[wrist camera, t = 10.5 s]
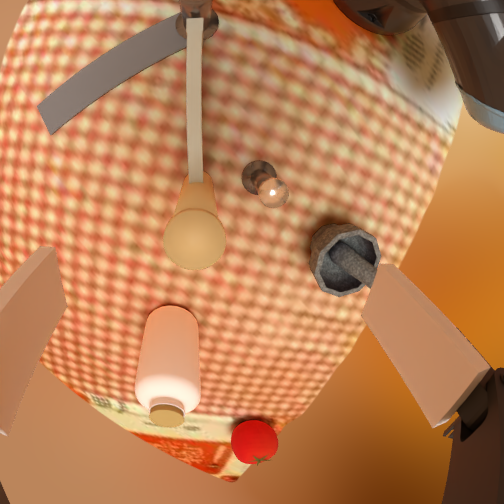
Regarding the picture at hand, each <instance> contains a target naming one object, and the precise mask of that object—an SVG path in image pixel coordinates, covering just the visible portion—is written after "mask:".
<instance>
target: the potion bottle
mask: <svg viewBox="0 0 504 504" xmlns="http://www.w3.org/2000/svg"><path fill="white" fill-rule="evenodd" d="M135 394H136V397H137V399H138V400H139V402H140V403H141V404H142V405H143V406H144V407H145V408H147V409H148V410H149V414H150V415H149V418H150V420H151V421H152V422H153V423H155V424H157V425H159V426H163V427H176V426H179V425H181V424H182V423H183V422H184V417H185V413H188V412H190V411H192V410H193V409H194V408H195V407H196V406H197V405H198V404H199V402H200V397H201V385H200V362H199V331H198V324H197V321H196V319H195V317H194V316H193V315H192V314H191V313H190V312H188V311H187V310H186V309H184V308H181V307H178V306H170V305H169V306H162V307H160V308H157V309H155V310H154V311H153V312H152V313H151V314H150V315H149V316H148V319H147V321H146V326H145V331H144V336H143V341H142V346H141V351H140V357H139V363H138V369H137V375H136V381H135Z"/></svg>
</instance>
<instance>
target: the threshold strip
mask: <svg viewBox="0 0 504 504" xmlns="http://www.w3.org/2000/svg"><path fill="white" fill-rule="evenodd" d="M180 13H181V12H180ZM180 13H178V14H176V15H174V16H172V17H169V18H167V19H165V20H163V21H161V22H159V23H157V24H155V25H153V26H151V27H149V28H147V29H146V30H144V31H142V32H140V33H138V34H136V35H135V36H133V37H131V38H129V39H128V40H126V41H124V42H123V43H121V44H119V45H118V46H116V47H114V48H113V49H111V50H110V51H108V52H107V53H105V54H103V55H102V56H100V57H99V58H97V59H96V60H95V61H93V62H92V63H90V64H89V65H87V66H86V67H85V68H83V69H82V70H81V71H79V72H78V73H76V74H75V75H74V76H73V77H71V78H70V79H69V80H67V81H66V82H65V83H64V84H62V85H61V86H60V87H59V88H57V89H56V90H55V91H54V92H53V93H51V94H50V95H49V96H48V97H47V98H46V99H45V100H43V101H42V102H41V103H40V104H39V105H38V106H37V108H38V110H39V112H40V114H41V116H42V118H43V120H44V123H45V125H46V127H47V129H48V131H49V133H50V135H52V134H53V133H55V132H56V131H57V130H58V129H59V128H61V127H62V126H63V125H64V124H65V123H67V122H68V121H69V120H70V119H72V118H73V117H74V116H76V115H77V114H78V113H79V112H81V111H82V110H83V109H85V108H86V107H87V106H89V105H90V104H92V103H93V102H94V101H96V100H97V99H99V98H100V97H101V96H103V95H104V94H106V93H107V92H109V91H110V90H112V89H113V88H115V87H116V86H118V85H119V84H121V83H123V82H124V81H126V80H127V79H129V78H131V77H132V76H134V75H136V74H137V73H139V72H141V71H142V70H144V69H146V68H148V67H150V66H151V65H153V64H155V63H157V62H159V61H160V60H162V59H164V58H166V57H168V56H170V55H172V54H174V53H176V52H178V51H180V50H182V49H184V48H186V47H187V39H184V38H183V37H181V36H180V35H179V34H178V32H177V30H176V26H175V23H176V19H177V17H178V15H179V14H180ZM211 36H213V34H212V35H211Z"/></svg>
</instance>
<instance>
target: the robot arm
mask: <svg viewBox="0 0 504 504" xmlns="http://www.w3.org/2000/svg"><path fill="white" fill-rule="evenodd" d="M334 2H335V3H336V5H337V6H338V7H339V8H340V10H341V11H342V12H343V13H344V14H345V15H346V16H347V17H349V18H350V19H351V20H352V21H353V22H355V23H356V24H358V25H359V26H361V27H363V28H365V29H367V30H369V31H371V32H374V33H377V34H381V35H396V34H399V33H403V32H406V31H408V30H410V29H412V28H413V27H414V26H415V25H416V24H417V23H418V22H419V21H420V20H421V19H422V18H423V17H424V16H425V15H426V14H428V16H429V18H430V20H431V21H432V24H433V26H434V28H435V30H436V32H437V34H438V37H439V39H440V41H441V43H442V45H443V48H444V50H445V53H446V55H447V58H448V60H449V63H450V66H451V68H452V71H453V74H454V77H455V83H456V86H457V88H458V89H459V91H460V93H461V96H462V98H463V101H464V104H465V107H466V110H467V111H468V113H469V115H470V116H471V117H472V118H473V119H474V120H476V121H477V122H478V123H479V124H481V125H483V126H484V127H486V128H489V129H491V130H493V131H497V132H499V133H503V134H504V0H334ZM66 308H67V303H66V298H65V294H64V290H63V285H62V281H61V276H60V271H59V266H58V260H57V255H56V249H55V247H43V246H40V247H39V248H38V249H37V250H36V251H35V252H34V253H33V254H32V255H31V256H30V257H29V258H28V259H27V260H26V261H25V262H24V263H23V264H22V265H21V266H20V267H19V268H18V269H17V271H16V272H15V273H14V274H13V275H12V276H11V277H10V278H9V279H8V280H7V282H6V283H5V284H4V285H3V286H2V287H1V288H0V433H1V434H4V435H6V436H9V433H10V430H11V427H12V424H13V421H14V419H15V416H16V413H17V410H18V408H19V405H20V403H21V400H22V398H23V395H24V393H25V390H26V388H27V386H28V383H29V381H30V378H31V377H32V374H33V372H34V370H35V368H36V366H37V364H38V361H39V359H40V357H41V355H42V353H43V351H44V349H45V347H46V345H47V343H48V341H49V339H50V337H51V335H52V333H53V331H54V330H55V328H56V326H57V324H58V322H59V320H60V319H61V317H62V315H63V313H64V311H65V310H66ZM361 316H362V318H363V319H364V321H365V322H366V324H367V325H368V327H369V328H370V330H371V331H372V333H373V334H374V336H375V337H376V339H377V340H378V342H379V343H380V345H381V346H382V348H383V349H384V351H385V352H386V353H387V355H388V357H389V358H390V360H391V361H392V363H393V364H394V366H395V368H396V369H397V371H398V372H399V374H400V375H401V377H402V379H403V380H404V382H405V383H406V385H407V386H408V388H409V390H410V391H411V393H412V395H413V396H414V398H415V399H416V401H417V402H418V404H419V406H420V408H421V409H422V411H423V413H424V414H425V416H426V417H427V419H428V421H429V423H430V424H431V426H432V428H434V427H436V426H439V425H441V424H443V423H445V422H447V421H448V420H449V419H450V418H451V416H452V415H453V414H454V413H455V412H456V411H457V412H458V414H459V417H458V418H457V419H456V420H455V421H454V422H453V423H452V424H451V425H450V426H449V427H448V428H447V429H446V430H445V431H444V434H443V436H446V435H447V434H448V433H449V432H450V431H451V430H453V429H454V431H453V432H452V433H451V434H450V436H449V438H452V439H453V443H452V451H451V459H450V465H449V472H448V477H447V482H446V487H445V492H444V496H443V501H442V504H504V368H498V369H496V371H495V370H494V369H493V368H492V367H491V366H490V365H489V364H488V362H487V361H486V360H485V359H484V358H483V356H482V355H481V354H480V353H479V352H478V351H477V349H476V348H475V347H474V346H473V345H471V343H470V341H469V340H468V339H466V338H465V336H464V335H463V334H462V333H461V331H460V330H459V329H458V328H457V327H455V326H454V325H453V324H452V322H450V320H449V319H448V318H447V317H446V316H445V315H444V314H443V313H442V312H441V311H440V310H439V309H438V308H437V307H436V306H435V305H434V304H433V303H432V302H431V301H430V300H429V299H428V298H427V297H426V296H425V295H424V294H423V293H422V292H421V291H420V290H419V289H418V288H417V287H416V286H415V285H414V284H413V283H412V282H411V281H410V280H409V279H408V278H407V277H406V276H405V275H404V274H403V273H402V272H401V271H400V270H399V269H398V268H397V267H396V266H395V265H393V264H379V267H378V270H377V273H376V276H375V279H374V282H373V285H372V287H371V290H370V293H369V296H368V298H367V301H366V304H365V306H364V309H363V312H362V314H361ZM0 504H10V503H9V500H8V498H7V496H6V494H5V491H4V489H3V487H2V484H1V482H0Z"/></svg>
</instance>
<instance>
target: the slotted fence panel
mask: <svg viewBox="0 0 504 504" xmlns="http://www.w3.org/2000/svg"><path fill="white" fill-rule="evenodd" d="M186 34H187V60H186V113H187V151H188V175H187V176H186V178H185V180H184V183H183V186H182V189H181V192H180V196H179V199H178V202H177V206H176V209H175V213H174V216H173V217H172V218H171V219H170V221H169V222H168V224H167V226H166V229H165V232H164V236H163V246H164V249H165V252H166V254H167V256H168V257H169V259H170V260H171V261H172V262H173V263H175V264H176V265H178V266H180V267H182V268H184V269H188V270H201V269H205V268H208V267H210V266H212V265H213V264H215V263H216V262H217V261H218V260H219V259H220V258H221V256H222V255H223V252H224V250H225V246H226V235H225V231H224V227H223V225H222V223H221V221H220V220H219V219H218V214H217V208H216V202H215V195H214V189H213V182H212V179H211V177H210V176H209V174H207V173H206V172H204V171H203V147H202V48H203V18H188V19H187V24H186Z"/></svg>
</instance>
